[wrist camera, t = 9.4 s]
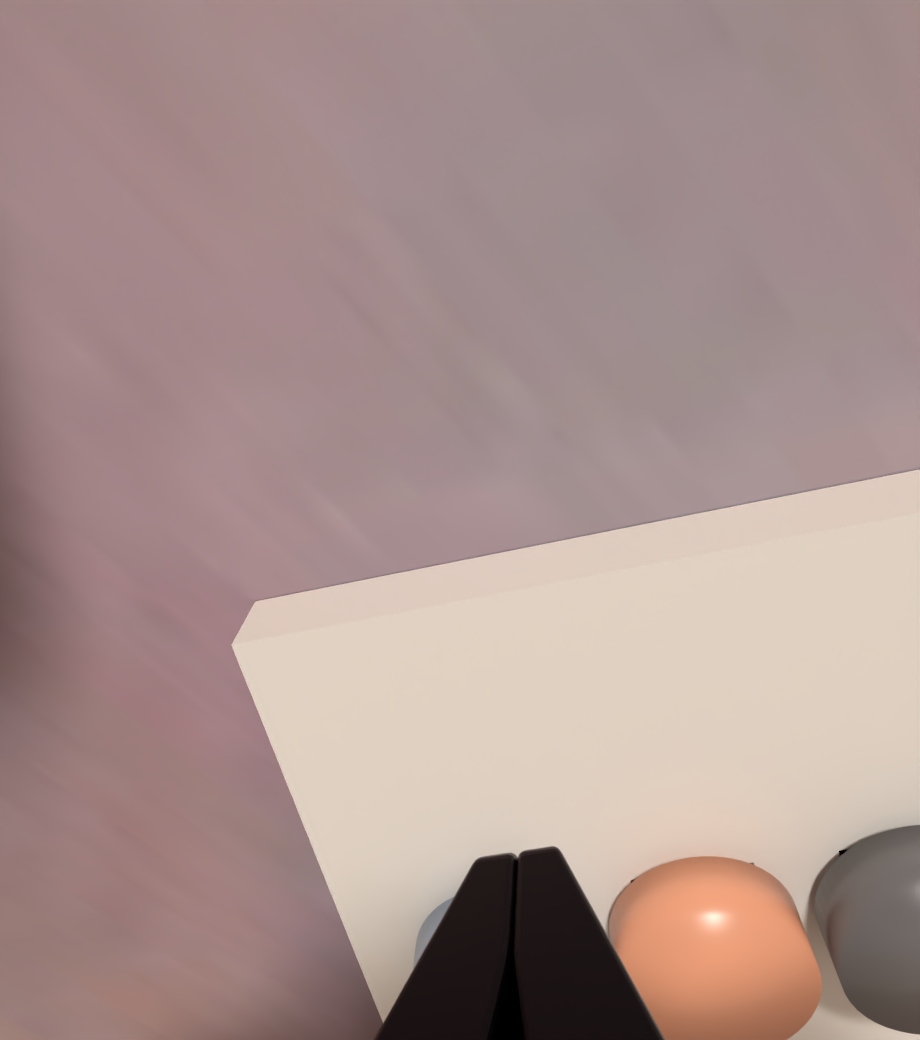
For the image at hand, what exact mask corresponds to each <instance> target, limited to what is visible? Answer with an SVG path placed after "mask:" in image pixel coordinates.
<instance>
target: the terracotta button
mask: <svg viewBox="0 0 920 1040" xmlns="http://www.w3.org/2000/svg"><path fill="white" fill-rule="evenodd" d="M609 935H610V941H611V942H612V944H613V946H614V948H615V950H616V952H617V953H618V955H619V957H620V959H621V961H622V962H623V964H624V966H625V968H626V970H627V971H628V973H629V975H630V977H631V979H632V981H633V982H634V984H635V986H636V988H637V990H638V991H639V993H640V995H641V997H642V999H643V1000H644V1002H645V1004H646V1006H647V1008H648V1010H649V1011H650V1013H651V1015H652V1017H653V1019H654V1020H655V1022H656V1024H657V1026H658V1028H659V1030H660V1031H661V1033H662V1035H663V1037H664V1039H665V1040H787V1039H789V1038H790V1037H792V1036H793V1035H794V1034H796V1033H797V1032H798V1031H799V1030H800V1029H801V1028H802V1027H803V1026H804V1025H805V1024H806V1023H807V1022H808V1021H809V1019H810V1018H811V1017H812V1015H813V1014H814V1012H815V1010H816V1008H817V1006H818V1003H819V1000H820V997H821V991H822V979H821V974H820V970H819V967H818V964H817V962H816V959H815V956H814V954H813V951H812V948H811V946H810V943H809V940H808V937H807V935H806V932H805V929H804V927H803V924H802V921H801V919H800V916H799V913H798V910H797V908H796V905H795V903H794V900H793V898H792V896H791V895H790V893H789V892H788V890H787V889H786V888H785V886H784V885H783V884H782V883H781V882H780V881H779V880H778V879H776V878H775V877H774V876H773V875H771V874H770V873H768V872H767V871H765V870H763V869H761V868H759V867H757V866H755V865H753V864H750V863H747V862H744V861H741V860H736V859H732V858H726V857H716V856H701V857H690V858H685V859H679V860H675V861H672V862H669V863H665V864H663V865H660V866H658V867H656V868H653V869H651V870H650V871H648V872H646V873H644V874H643V875H641V876H640V877H638V878H637V879H636V880H634V881H633V882H632V883H631V884H630V885H629V886H628V887H627V888H626V889H625V890H624V891H623V892H622V894H621V895H620V896H619V898H618V899H617V901H616V903H615V905H614V907H613V910H612V912H611V916H610V921H609Z"/></svg>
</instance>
